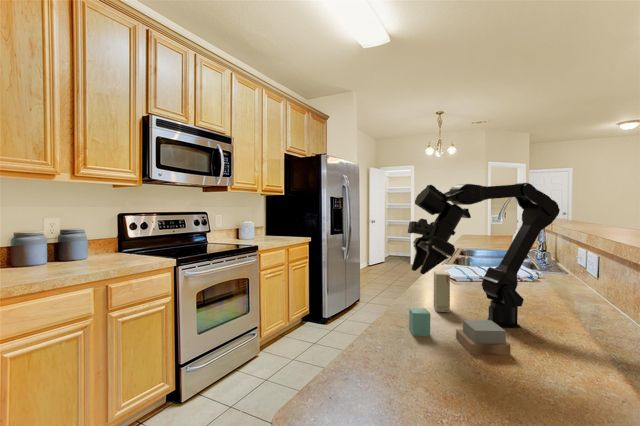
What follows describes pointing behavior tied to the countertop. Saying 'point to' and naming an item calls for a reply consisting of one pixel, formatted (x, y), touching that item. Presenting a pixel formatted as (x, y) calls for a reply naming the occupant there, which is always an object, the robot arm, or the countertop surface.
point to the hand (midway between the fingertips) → (417, 271)
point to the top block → (484, 332)
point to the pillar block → (419, 321)
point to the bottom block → (481, 346)
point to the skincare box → (441, 291)
